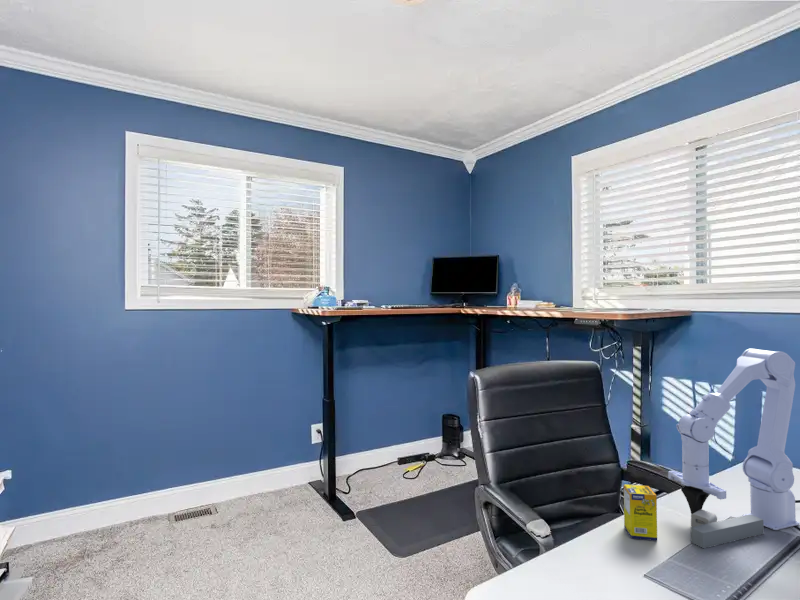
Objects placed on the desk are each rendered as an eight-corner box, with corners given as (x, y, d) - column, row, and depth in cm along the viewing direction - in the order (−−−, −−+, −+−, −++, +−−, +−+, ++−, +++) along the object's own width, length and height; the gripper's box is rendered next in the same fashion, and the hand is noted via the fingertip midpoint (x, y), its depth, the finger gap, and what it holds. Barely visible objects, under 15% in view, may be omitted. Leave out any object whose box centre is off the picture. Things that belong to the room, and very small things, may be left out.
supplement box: (658, 541, 108) (657, 495, 109) (630, 539, 110) (630, 493, 110) (649, 529, 114) (648, 485, 114) (623, 527, 115) (623, 483, 116)
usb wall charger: (690, 528, 114) (691, 512, 114) (703, 521, 118) (703, 505, 118) (708, 535, 111) (709, 519, 111) (721, 527, 115) (721, 512, 115)
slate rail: (750, 528, 114) (750, 514, 114) (763, 534, 111) (763, 519, 111) (691, 542, 108) (690, 527, 108) (703, 548, 105) (702, 533, 105)
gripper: (659, 456, 123) (659, 506, 123) (711, 474, 109) (711, 532, 109) (679, 453, 125) (679, 503, 125) (732, 471, 111) (733, 527, 111)
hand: (696, 516), depth 117 cm, fingers closed
